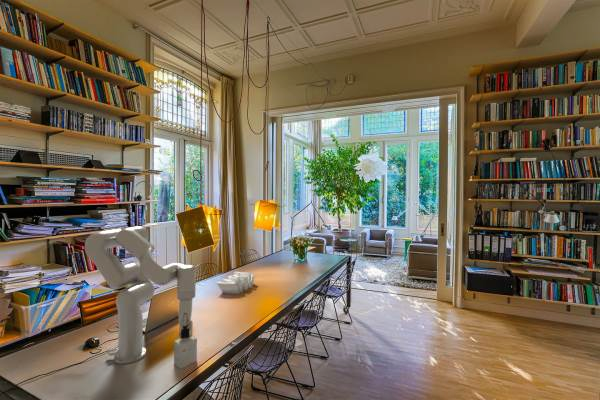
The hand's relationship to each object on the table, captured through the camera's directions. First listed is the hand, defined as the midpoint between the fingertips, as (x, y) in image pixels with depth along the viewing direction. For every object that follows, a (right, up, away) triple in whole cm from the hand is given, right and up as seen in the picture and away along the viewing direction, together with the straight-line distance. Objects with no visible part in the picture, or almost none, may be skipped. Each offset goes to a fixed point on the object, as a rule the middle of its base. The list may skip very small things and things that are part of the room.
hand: (185, 333), depth 127 cm
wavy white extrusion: (+2, -10, +98) cm, 99 cm away
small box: (0, -13, 0) cm, 13 cm away
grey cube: (0, -1, 0) cm, 1 cm away
